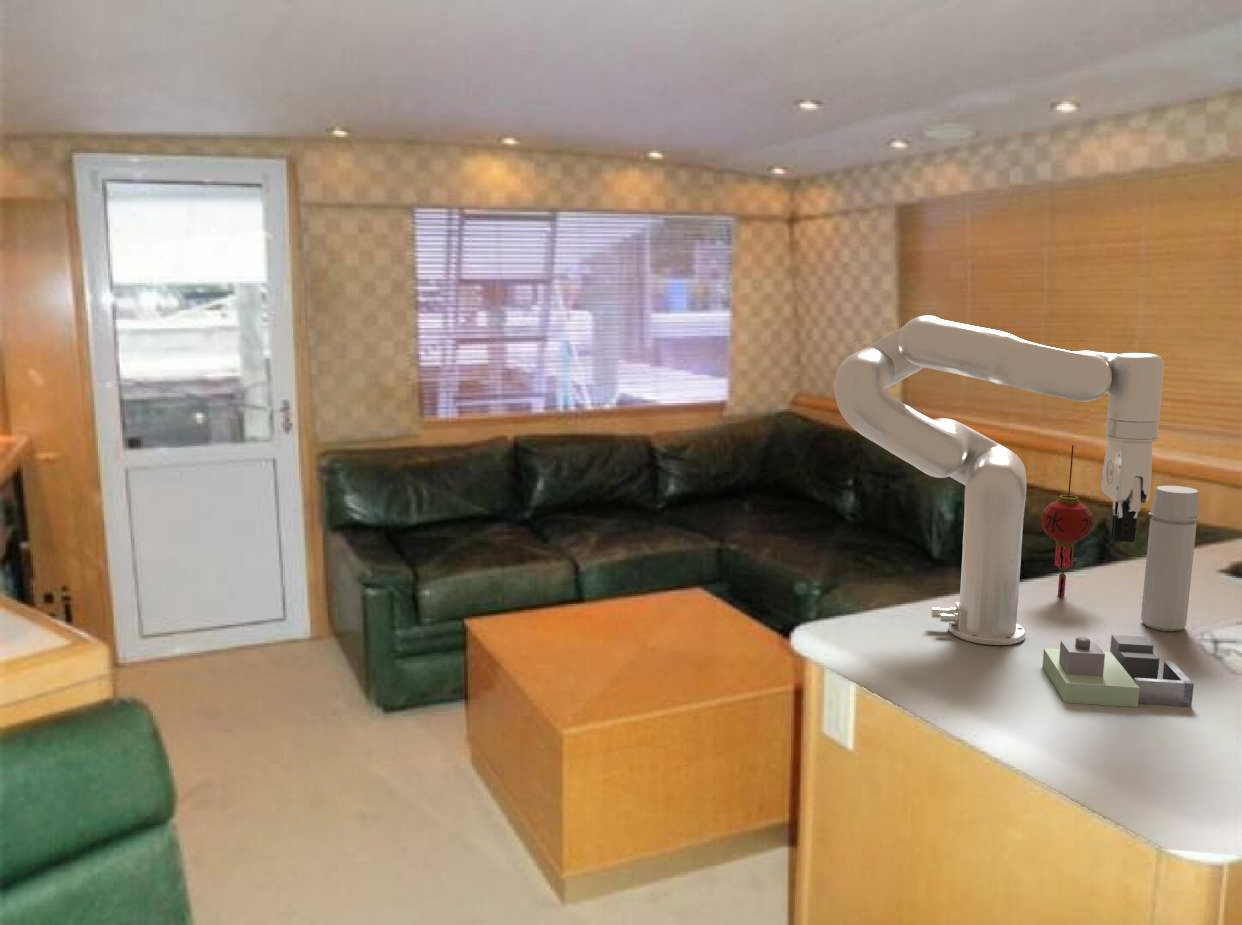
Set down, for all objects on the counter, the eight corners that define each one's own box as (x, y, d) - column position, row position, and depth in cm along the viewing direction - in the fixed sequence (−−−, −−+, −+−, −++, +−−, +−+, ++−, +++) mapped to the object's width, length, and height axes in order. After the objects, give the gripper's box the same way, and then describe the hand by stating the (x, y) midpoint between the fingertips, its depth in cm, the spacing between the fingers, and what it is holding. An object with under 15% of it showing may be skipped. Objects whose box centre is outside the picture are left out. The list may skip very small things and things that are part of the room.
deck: (1064, 702, 145) (1068, 652, 144) (1042, 666, 159) (1046, 620, 157) (1137, 707, 144) (1142, 656, 142) (1109, 670, 157) (1113, 623, 156)
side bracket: (1134, 702, 145) (1136, 680, 144) (1116, 679, 153) (1118, 658, 153) (1191, 706, 144) (1193, 683, 143) (1170, 683, 152) (1172, 661, 151)
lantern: (1097, 598, 192) (1110, 446, 187) (1068, 607, 187) (1080, 451, 182) (1054, 585, 200) (1065, 439, 194) (1024, 593, 195) (1035, 444, 189)
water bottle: (1187, 636, 172) (1201, 495, 167) (1136, 628, 176) (1149, 490, 171) (1189, 620, 179) (1203, 486, 175) (1141, 613, 183) (1153, 481, 179)
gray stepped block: (1122, 681, 153) (1124, 650, 152) (1108, 664, 160) (1111, 634, 159) (1156, 683, 152) (1160, 652, 151) (1142, 666, 159) (1145, 636, 158)
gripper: (1093, 423, 167) (1085, 528, 171) (1121, 437, 153) (1111, 551, 156) (1141, 424, 166) (1132, 530, 169) (1173, 438, 151) (1163, 553, 155)
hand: (1122, 540), depth 163 cm, fingers closed
